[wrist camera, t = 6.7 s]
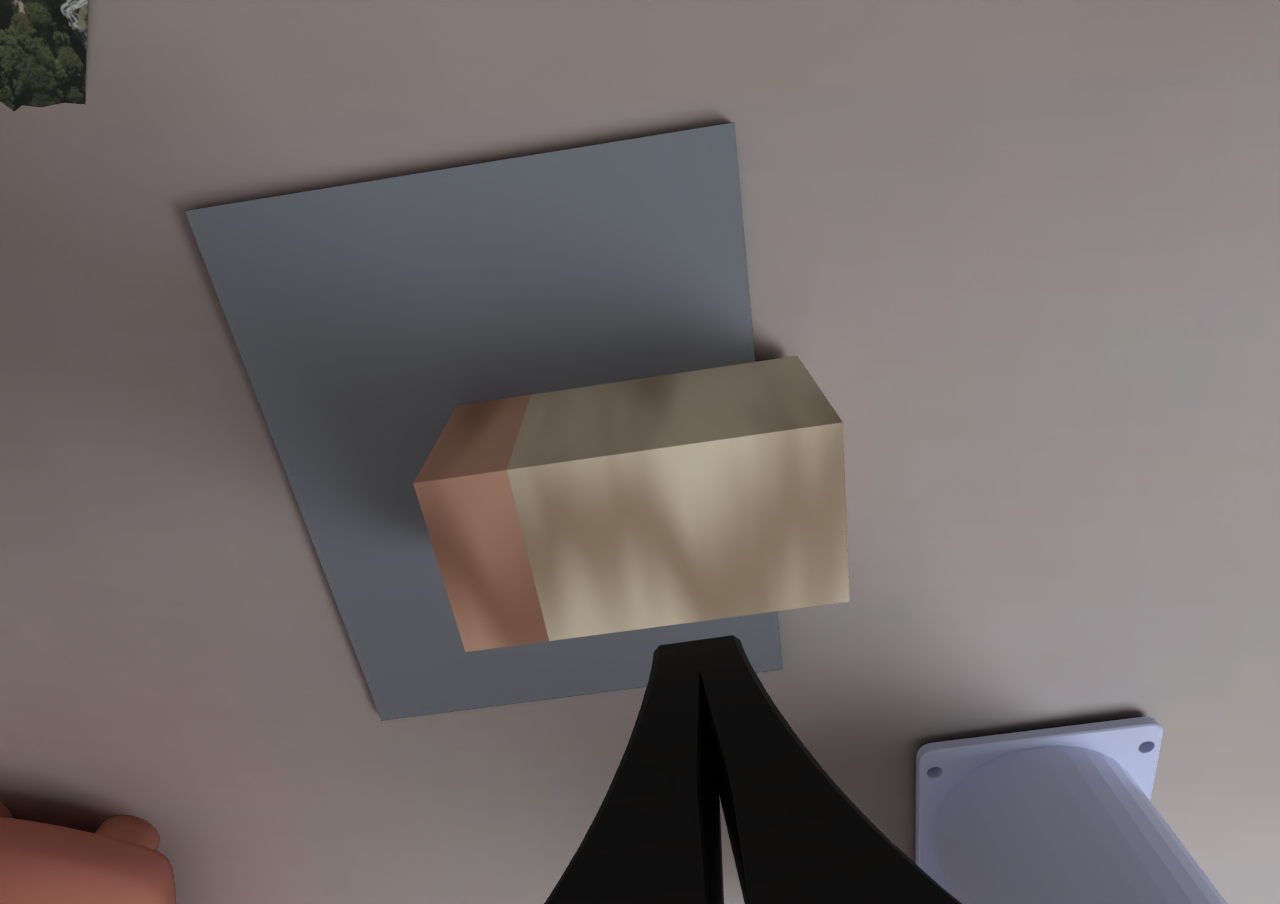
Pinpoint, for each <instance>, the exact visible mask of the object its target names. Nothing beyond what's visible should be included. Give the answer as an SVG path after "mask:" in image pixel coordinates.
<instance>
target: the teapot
mask: <svg viewBox="0 0 1280 904" xmlns="http://www.w3.org/2000/svg"><path fill="white" fill-rule="evenodd" d="M159 843H160V837H159V834H158V832H157V830H156V829H155V828H154V827H153V826H152V825H151V824H149V823H148V822H146V821H145V820H143V819H140V818H137V817H134V816H129V815H117V816H112V817H110V818H108V819H106V820H105V821H104V822H103V823H102V824H101V826H100V827H99V828H98V830H97V831H96V832H95V833H90V832H86V831H81V830H76V829H72V828H67V827H62V826H57V825H52V824H47V823H41V822H35V821H29V820H22V819H14V818H12V814H11V812H10V811H9V809H8V808H7V807H6V806H5V805H4V804H3V803H2V802H0V904H176V895H175V882H174V876H173V870H172V866H171V864H170V862H169V859H167V858H166V857H165V856H164V855H163V854H161V853H159V852H157V851H156V850H155V849H156V848H157V847H158V845H159Z"/></svg>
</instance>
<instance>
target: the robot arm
mask: <svg viewBox="0 0 1280 904" xmlns="http://www.w3.org/2000/svg"><path fill="white" fill-rule="evenodd" d="M1162 736H1163V729H1162V727H1161V726H1160V725H1159V724H1158V723H1157V721H1156V720H1155V719H1154V718H1151V717H1137V718H1129V719H1121V720H1113V721H1104V722H1096V723H1088V724H1080V725H1072V726H1064V727H1055V728H1047V729H1039V730H1031V731H1023V732H1015V733H1007V734H998V735H990V736H982V737H974V738H966V739H958V740H949V741H941V742H933V743H928V744H925V745H923V746H922V747H921V748H920V749H919V750H918V751H917V755H916V851H915V863H914V862H913V861H912V860H911V859H910V858H909V857H908V856H906V855H905V854H904V853H903V852H902V851H901V850H900V849H899V848H898V847H896V846H895V845H894V844H893V843H892V842H891V841H890V840H889V839H888V838H887V837H886V836H885V835H884V834H883V833H882V832H881V831H880V830H879V829H878V828H877V827H876V826H875V825H874V824H873V823H872V822H871V821H870V820H869V819H868V818H867V817H866V816H865V815H864V814H863V813H862V812H861V811H860V810H859V809H858V808H857V807H856V806H855V805H854V804H853V802H852V801H851V800H850V799H849V798H848V797H847V796H846V795H845V794H844V793H843V792H842V791H841V789H840V788H839V787H838V786H837V785H836V784H835V783H834V781H833V780H832V779H831V778H830V777H829V776H828V774H827V773H826V772H825V771H824V770H823V768H822V767H821V766H820V765H819V764H818V762H817V761H816V760H815V759H814V757H813V756H812V755H811V754H810V752H809V751H808V750H807V749H806V747H805V746H804V745H803V743H802V742H801V741H800V739H799V738H798V737H797V735H796V734H795V733H794V731H793V730H792V729H791V727H790V726H789V724H788V723H787V721H786V720H785V719H784V717H783V716H782V714H781V713H780V711H779V710H778V708H777V707H776V706H775V704H774V703H773V701H772V700H771V698H770V696H769V695H768V693H767V692H766V690H765V688H764V687H763V685H762V683H761V682H760V680H759V678H758V677H757V675H756V673H755V671H754V669H753V667H752V666H751V664H750V662H749V660H748V658H747V655H746V653H745V651H744V649H743V646H742V643H741V640H740V639H738V638H737V637H735V636H734V635H730V636H723V637H716V638H708V639H701V640H694V641H687V642H679V643H672V644H665V645H659V646H658V647H657V649H656V650H655V651H654V653H653V662H652V667H651V672H650V676H649V681H648V684H647V688H646V692H645V695H644V699H643V702H642V705H641V709H640V711H639V714H638V717H637V720H636V723H635V726H634V729H633V731H632V734H631V737H630V740H629V743H628V745H627V748H626V750H625V753H624V755H623V758H622V760H621V762H620V765H619V767H618V769H617V772H616V774H615V776H614V779H613V781H612V783H611V785H610V788H609V790H608V792H607V794H606V796H605V798H604V801H603V803H602V805H601V807H600V809H599V811H598V813H597V815H596V817H595V819H594V821H593V823H592V824H591V826H590V828H589V830H588V832H587V834H586V836H585V837H584V839H583V841H582V843H581V845H580V846H579V848H578V850H577V852H576V853H575V855H574V857H573V858H572V860H571V862H570V863H569V865H568V867H567V868H566V870H565V872H564V873H563V875H562V877H561V878H560V880H559V882H558V883H557V885H556V886H555V888H554V889H553V891H552V893H551V894H550V896H549V897H548V899H547V900H546V902H545V903H544V904H724V895H723V871H722V847H721V823H720V800H719V795H720V799H721V804H722V808H723V812H724V817H725V821H726V825H727V829H728V834H729V838H730V842H731V847H732V851H733V855H734V859H735V864H736V868H737V872H738V876H739V881H740V885H741V889H742V894H743V898H744V902H745V904H1227V902H1226V901H1225V900H1224V898H1223V897H1222V896H1221V894H1220V893H1219V892H1218V890H1217V889H1216V888H1215V886H1214V885H1213V884H1212V883H1211V881H1210V880H1209V879H1208V877H1207V876H1206V875H1205V873H1204V872H1203V871H1202V869H1201V868H1200V867H1199V865H1198V864H1197V863H1196V861H1195V860H1194V859H1193V857H1192V856H1191V855H1190V853H1189V852H1188V851H1187V849H1186V848H1185V847H1184V845H1183V844H1182V843H1181V841H1180V840H1179V839H1178V837H1177V836H1176V835H1175V833H1174V832H1173V831H1172V829H1171V828H1170V827H1169V825H1168V824H1167V823H1166V821H1165V820H1164V819H1163V817H1162V816H1161V815H1160V813H1159V812H1158V811H1157V810H1156V808H1155V807H1154V806H1153V804H1152V803H1151V802H1150V798H1151V793H1152V788H1153V783H1154V777H1155V772H1156V767H1157V762H1158V756H1159V751H1160V746H1161V741H1162ZM933 767H935V768H933ZM930 768H932V769H930Z"/></svg>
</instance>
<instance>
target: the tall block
mask: <svg viewBox="0 0 1280 904" xmlns="http://www.w3.org/2000/svg"><path fill="white" fill-rule="evenodd" d="M413 484H414V487H415V491H416V494H417V497H418V500H419V503H420V507H421V510H422V513H423V516H424V520H425V523H426V526H427V529H428V533H429V536H430V539H431V542H432V546H433V549H434V552H435V555H436V559H437V562H438V565H439V568H440V572H441V575H442V578H443V581H444V585H445V588H446V591H447V594H448V598H449V601H450V604H451V607H452V611H453V614H454V617H455V620H456V623H457V627H458V630H459V633H460V636H461V640H462V643H463V646H464V649H465V652H470V651H478V650H485V649H493V648H501V647H508V646H516V645H523V644H531V643H539V642H546V641H554V640H561V639H569V638H577V637H584V636H592V635H600V634H607V633H615V632H622V631H630V630H638V629H645V628H653V627H660V626H668V625H676V624H683V623H691V622H699V621H706V620H714V619H721V618H729V617H737V616H744V615H752V614H759V613H767V612H775V611H782V610H790V609H798V608H805V607H813V606H820V605H828V604H836V603H843V602H849V575H848V549H847V522H846V496H845V469H844V443H843V422H842V421H841V419H840V418H839V416H838V415H837V413H836V412H835V410H834V409H833V407H832V406H831V404H830V403H829V402H828V400H827V399H826V397H825V396H824V394H823V393H822V391H821V390H820V388H819V387H818V385H817V384H816V383H815V381H814V380H813V378H812V377H811V375H810V374H809V372H808V371H807V369H806V368H805V366H804V365H803V364H802V362H801V361H800V359H799V358H798V356H792V357H785V358H778V359H771V360H764V361H758V362H751V363H744V364H737V365H730V366H724V367H717V368H710V369H703V370H696V371H689V372H683V373H676V374H669V375H662V376H655V377H648V378H642V379H635V380H628V381H621V382H614V383H607V384H601V385H594V386H587V387H580V388H573V389H566V390H560V391H553V392H546V393H539V394H532V395H525V396H519V397H512V398H505V399H498V400H491V401H484V402H478V403H471V404H464V405H457V406H456V408H455V409H454V411H453V413H452V415H451V417H450V418H449V420H448V422H447V424H446V426H445V427H444V429H443V431H442V433H441V435H440V436H439V438H438V440H437V442H436V444H435V445H434V447H433V449H432V451H431V452H430V454H429V456H428V458H427V460H426V461H425V463H424V465H423V467H422V469H421V470H420V472H419V474H418V476H417V478H416V479H415V481H414V483H413Z"/></svg>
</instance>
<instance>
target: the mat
mask: <svg viewBox="0 0 1280 904" xmlns="http://www.w3.org/2000/svg"><path fill="white" fill-rule="evenodd" d="M185 213H186V216H187V219H188V221H189V224H190V226H191V229H192V231H193V234H194V237H195V239H196V242H197V244H198V247H199V250H200V252H201V255H202V257H203V260H204V263H205V265H206V268H207V270H208V273H209V275H210V278H211V281H212V283H213V286H214V288H215V291H216V294H217V296H218V299H219V301H220V304H221V307H222V309H223V312H224V314H225V317H226V320H227V322H228V325H229V327H230V330H231V332H232V335H233V338H234V340H235V343H236V345H237V348H238V351H239V353H240V356H241V358H242V361H243V364H244V366H245V369H246V371H247V374H248V376H249V379H250V382H251V384H252V387H253V389H254V392H255V395H256V397H257V400H258V402H259V405H260V408H261V410H262V413H263V415H264V418H265V421H266V423H267V426H268V428H269V431H270V433H271V436H272V439H273V441H274V444H275V446H276V449H277V452H278V454H279V457H280V459H281V462H282V465H283V467H284V470H285V472H286V475H287V477H288V480H289V483H290V485H291V488H292V490H293V493H294V496H295V498H296V501H297V503H298V506H299V509H300V511H301V514H302V516H303V519H304V522H305V524H306V527H307V529H308V532H309V534H310V537H311V540H312V542H313V545H314V547H315V550H316V553H317V555H318V558H319V560H320V563H321V566H322V568H323V571H324V573H325V576H326V578H327V581H328V584H329V586H330V589H331V591H332V594H333V597H334V599H335V602H336V604H337V607H338V610H339V612H340V615H341V617H342V620H343V622H344V625H345V628H346V630H347V633H348V635H349V638H350V641H351V643H352V646H353V648H354V651H355V654H356V656H357V659H358V661H359V664H360V667H361V669H362V672H363V674H364V677H365V679H366V682H367V685H368V687H369V690H370V692H371V695H372V698H373V700H374V703H375V705H376V708H377V711H378V713H379V716H380V718H381V721H383V720H390V719H398V718H406V717H414V716H422V715H429V714H437V713H445V712H453V711H461V710H468V709H476V708H484V707H492V706H500V705H507V704H515V703H523V702H531V701H539V700H547V699H554V698H562V697H570V696H578V695H586V694H593V693H601V692H609V691H617V690H625V689H632V688H640V687H647V684H648V681H649V676H650V672H651V667H652V662H653V653H654V651H655V650H656V649H657V647H658V646H659V645H665V644H672V643H679V642H687V641H694V640H701V639H708V638H716V637H723V636H730V635H734V636H735V637H737V638H738V639H740V640H741V643H742V646H743V649H744V651H745V653H746V655H747V658H748V660H749V662H750V664H751V666H752V667H753V669H754V671H755V673H757V672H765V671H773V670H781V669H782V660H781V649H780V638H779V626H778V615H777V611H775V612H767V613H759V614H752V615H744V616H737V617H729V618H721V619H714V620H706V621H699V622H691V623H683V624H676V625H668V626H660V627H653V628H645V629H638V630H630V631H622V632H615V633H607V634H600V635H592V636H584V637H577V638H569V639H561V640H554V641H546V642H539V643H531V644H523V645H516V646H508V647H501V648H493V649H485V650H478V651H470V652H465V649H464V646H463V643H462V640H461V636H460V633H459V630H458V627H457V623H456V620H455V617H454V614H453V611H452V607H451V604H450V601H449V598H448V594H447V591H446V588H445V585H444V581H443V578H442V575H441V572H440V568H439V565H438V562H437V559H436V555H435V552H434V549H433V546H432V542H431V539H430V536H429V533H428V529H427V526H426V523H425V520H424V516H423V513H422V510H421V507H420V503H419V500H418V497H417V494H416V491H415V487H414V484H413V483H414V481H415V479H416V478H417V476H418V474H419V472H420V470H421V469H422V467H423V465H424V463H425V461H426V460H427V458H428V456H429V454H430V452H431V451H432V449H433V447H434V445H435V444H436V442H437V440H438V438H439V436H440V435H441V433H442V431H443V429H444V427H445V426H446V424H447V422H448V420H449V418H450V417H451V415H452V413H453V411H454V409H455V408H456V406H457V405H464V404H471V403H478V402H484V401H491V400H498V399H505V398H512V397H519V396H525V395H532V394H539V393H546V392H553V391H560V390H566V389H573V388H580V387H587V386H594V385H601V384H607V383H614V382H621V381H628V380H635V379H642V378H648V377H655V376H662V375H669V374H676V373H683V372H689V371H696V370H703V369H710V368H717V367H724V366H730V365H737V364H744V363H751V362H755V353H754V341H753V330H752V319H751V307H750V296H749V284H748V273H747V262H746V250H745V239H744V227H743V216H742V205H741V193H740V182H739V170H738V159H737V148H736V136H735V125H734V122H731V123H725V124H719V125H713V126H706V127H700V128H694V129H688V130H682V131H675V132H669V133H663V134H657V135H651V136H644V137H638V138H632V139H626V140H620V141H613V142H607V143H601V144H595V145H589V146H582V147H576V148H570V149H564V150H558V151H551V152H545V153H539V154H533V155H527V156H520V157H514V158H508V159H502V160H496V161H489V162H483V163H477V164H471V165H465V166H458V167H452V168H446V169H440V170H434V171H427V172H421V173H415V174H409V175H403V176H396V177H390V178H384V179H378V180H372V181H365V182H359V183H353V184H347V185H341V186H334V187H328V188H322V189H316V190H310V191H303V192H297V193H291V194H285V195H279V196H272V197H266V198H260V199H254V200H248V201H241V202H235V203H229V204H223V205H217V206H210V207H204V208H198V209H192V210H188V211H185Z"/></svg>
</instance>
